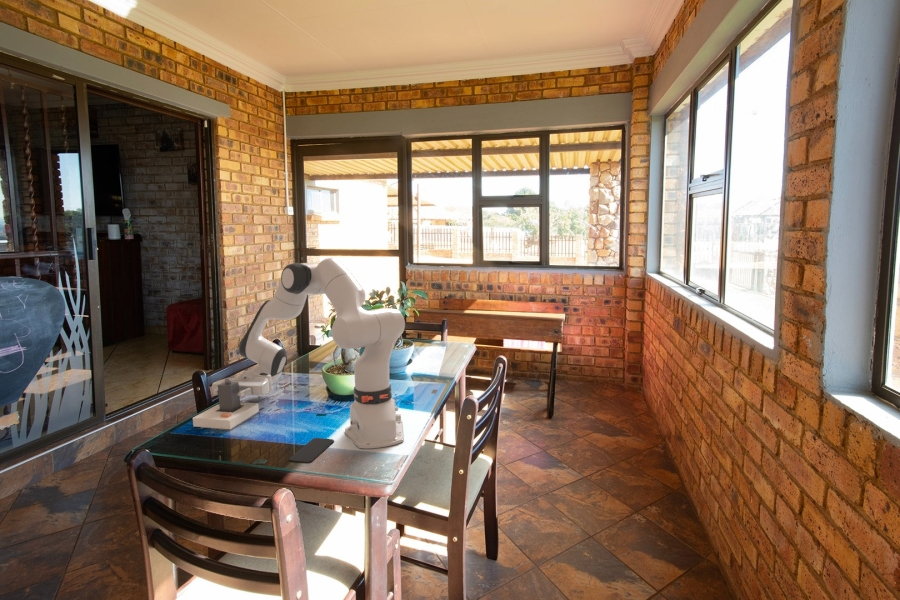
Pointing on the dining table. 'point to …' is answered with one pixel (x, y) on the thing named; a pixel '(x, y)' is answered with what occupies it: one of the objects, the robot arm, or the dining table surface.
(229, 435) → the dining table surface
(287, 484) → the dining table surface
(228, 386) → the plug
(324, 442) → the phone
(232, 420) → the socket
